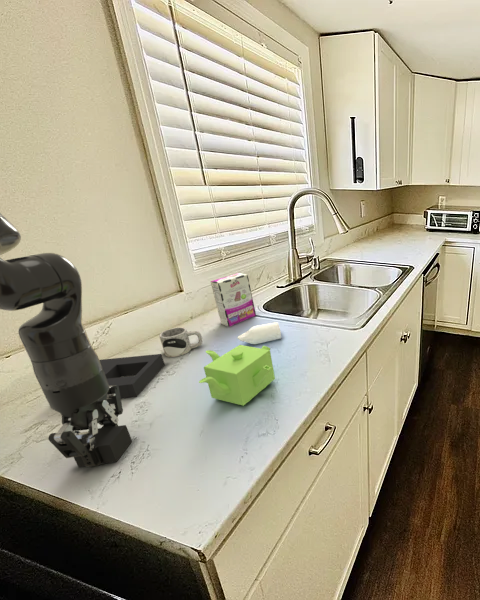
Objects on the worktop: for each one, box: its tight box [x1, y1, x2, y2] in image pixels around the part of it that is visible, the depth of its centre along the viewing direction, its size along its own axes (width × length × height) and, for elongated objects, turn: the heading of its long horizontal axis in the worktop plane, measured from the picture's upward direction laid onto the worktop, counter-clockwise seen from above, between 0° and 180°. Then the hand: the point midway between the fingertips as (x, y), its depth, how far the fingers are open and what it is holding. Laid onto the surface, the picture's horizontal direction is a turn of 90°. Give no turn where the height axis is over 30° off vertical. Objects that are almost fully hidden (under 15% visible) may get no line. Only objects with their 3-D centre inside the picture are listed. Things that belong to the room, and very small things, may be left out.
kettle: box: [198, 344, 276, 407], centre depth 76 cm, size 15×14×11 cm
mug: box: [158, 326, 204, 358], centre depth 96 cm, size 10×7×7 cm
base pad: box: [99, 353, 166, 400], centre depth 81 cm, size 16×14×4 cm
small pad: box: [73, 424, 133, 468], centre depth 60 cm, size 6×5×4 cm
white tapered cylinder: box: [236, 321, 282, 345], centre depth 101 cm, size 6×12×6 cm, turn 121°
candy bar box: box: [210, 272, 257, 328], centre depth 114 cm, size 11×5×16 cm, turn 150°
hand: (105, 452), depth 60 cm, fingers closed on small pad, 5 cm apart
